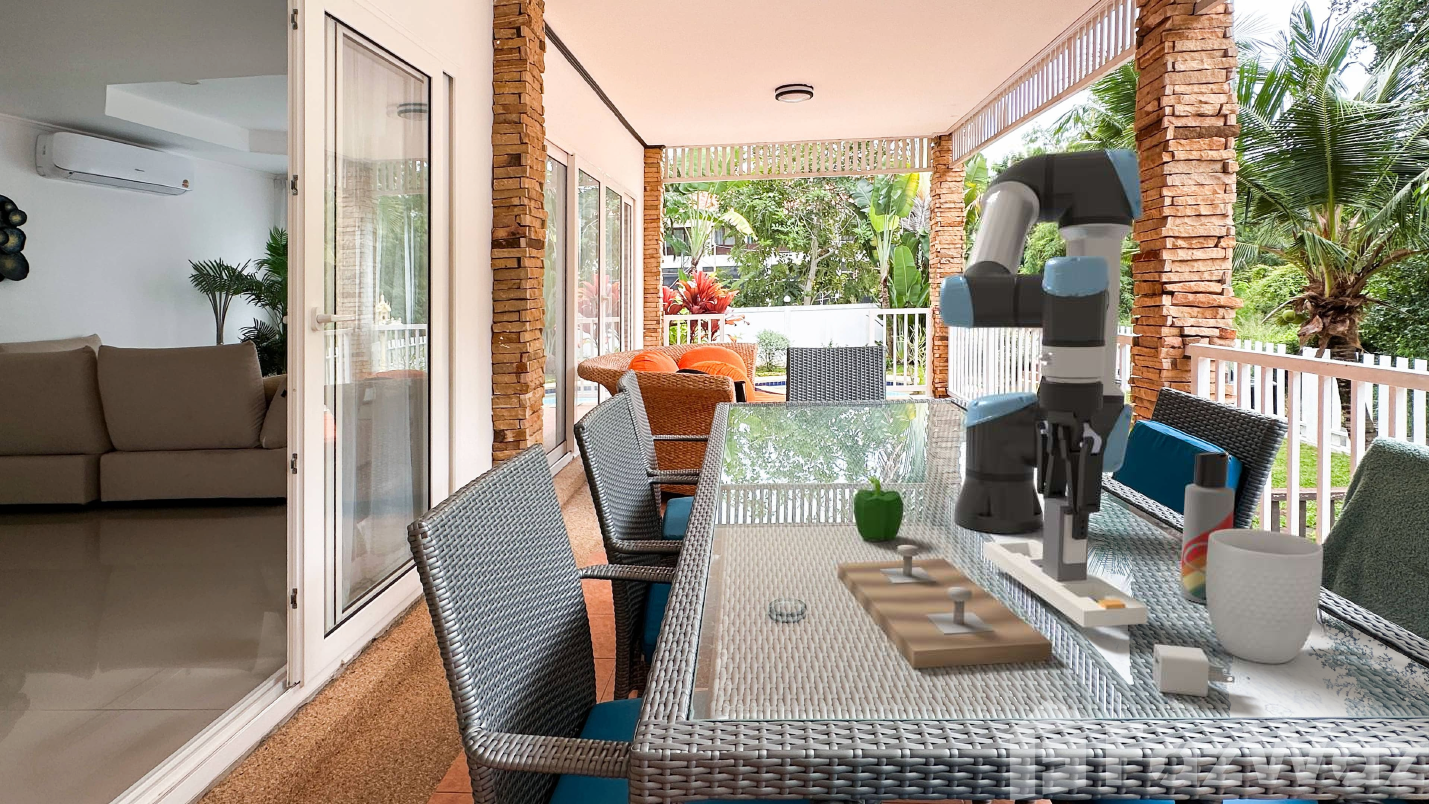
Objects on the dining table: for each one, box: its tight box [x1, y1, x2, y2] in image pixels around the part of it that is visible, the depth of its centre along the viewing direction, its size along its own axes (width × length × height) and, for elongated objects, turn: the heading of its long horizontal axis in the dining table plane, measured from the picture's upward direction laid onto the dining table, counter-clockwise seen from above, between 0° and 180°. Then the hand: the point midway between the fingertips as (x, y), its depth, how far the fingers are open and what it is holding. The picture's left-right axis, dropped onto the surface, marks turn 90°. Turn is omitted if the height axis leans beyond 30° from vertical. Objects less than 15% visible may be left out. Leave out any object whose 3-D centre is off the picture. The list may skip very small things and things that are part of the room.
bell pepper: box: [853, 477, 904, 542], centre depth 147 cm, size 8×8×10 cm
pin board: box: [837, 544, 1053, 669], centre depth 112 cm, size 32×16×6 cm, turn 7°
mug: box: [1206, 528, 1324, 665], centre depth 99 cm, size 15×11×13 cm
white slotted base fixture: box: [982, 498, 1149, 628], centre depth 116 cm, size 28×8×12 cm, turn 7°
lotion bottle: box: [1179, 451, 1236, 605], centre depth 116 cm, size 6×6×20 cm
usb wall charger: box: [1152, 644, 1236, 698], centre depth 90 cm, size 4×7×4 cm, turn 73°
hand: (1064, 556), depth 114 cm, fingers closed on white slotted base fixture, 4 cm apart
